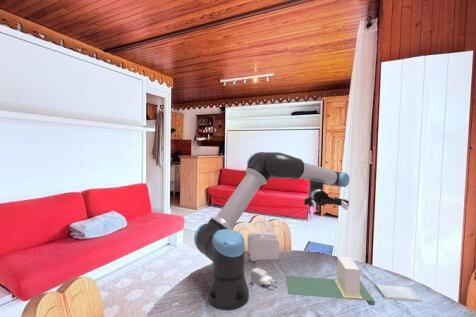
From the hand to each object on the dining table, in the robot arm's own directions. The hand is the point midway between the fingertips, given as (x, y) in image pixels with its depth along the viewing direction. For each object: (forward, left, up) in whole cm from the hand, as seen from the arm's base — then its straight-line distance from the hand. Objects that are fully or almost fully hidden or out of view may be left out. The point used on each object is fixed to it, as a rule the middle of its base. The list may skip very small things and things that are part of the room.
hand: (330, 206), depth 104 cm
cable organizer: (-30, +11, -30) cm, 44 cm away
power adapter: (-29, -15, -30) cm, 44 cm away
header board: (-5, -14, -30) cm, 34 cm away
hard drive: (+22, -12, -31) cm, 40 cm away
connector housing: (+3, -14, -28) cm, 32 cm away
